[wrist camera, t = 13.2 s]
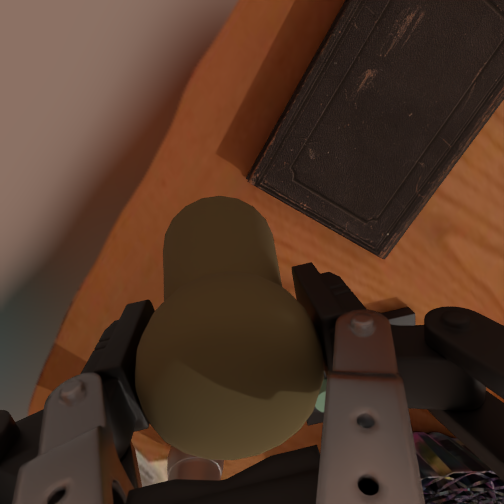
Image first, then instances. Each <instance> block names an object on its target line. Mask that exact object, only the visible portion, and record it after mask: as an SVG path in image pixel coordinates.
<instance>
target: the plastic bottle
mask: <svg viewBox="0 0 504 504" xmlns="http://www.w3.org/2000/svg"><path fill="white" fill-rule="evenodd" d="M223 464H224V460H208V459H204V458H201V457H197V456H193V455H189V454H186V453H183V452H182V451H180V450H178V449H177V448H175V447H173V446H171V449H170V451H169V454H168V464H167V471H168V481H170V480H174V479H188V480H221V475H222V471H223Z"/></svg>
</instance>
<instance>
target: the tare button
mask: <svg viewBox="0 0 504 504" xmlns="http://www.w3.org/2000/svg"><path fill="white" fill-rule="evenodd" d="M326 384H327V379H324V380H323V383H322V386H321V389H320V392H319V395H318V398H317V401H316V404H315V407H316V408H317V409H318V410H319V411H321V412H324V407H325V395H326Z"/></svg>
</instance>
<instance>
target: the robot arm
mask: <svg viewBox="0 0 504 504" xmlns="http://www.w3.org/2000/svg"><path fill="white" fill-rule="evenodd" d="M292 275H293V281H294V287H295V293H296V298H297V301H298V302H299V303H300V304H301V305H302V306H303V307H304V308H305V309H306V311H307V313H308V315H309V316H310V318H311V320H312V322H313V324H314V326H315V329H316V331H317V333H318V335H319V337H320V341H321V344H322V351H323V364H324V371H325V374H326V376H327V384H326V395H325V407H324V418H323V429H322V441H321V452H320V453H319V450H318V447H317V445H314V446H310V447H306V448H302V449H298V450H294V451H290V452H285V453H281V454H277V455H273V456H270V457H268V458H266V459H264V460H262V461H260V462H259V463H257V464H255V465H253V466H251V467H249V468H247V469H245V470H243V471H241V472H239V473H237V474H235V475H234V476H232V477H230V478H228V479H225V480H188V479H174V480H170V481H165V482H161V483H157V484H153V485H149V486H145V487H142V483H141V478H140V473H139V468H138V463H137V457H136V452H135V448H134V446H133V444H132V442H131V439H132V435H133V432H135V431H139V430H143V429H147V428H148V426H149V421H148V420H147V418H146V416H145V415H144V413H143V411H142V408H141V405H140V401H139V398H138V395H137V392H136V388H135V366H136V355H137V348H138V345H139V342H140V339H141V336H142V334H143V332H144V330H145V328H146V327H147V325H148V323H149V321H150V319H151V317H152V315H153V313H154V312H155V311H154V308H153V305H152V303H151V302H150V300H144V301H140V302H136V303H131V304H127V306H126V307H125V309H124V311H123V313H122V315H121V317H120V319H119V320H117V321H114V322H113V323H112V324H111V325H110V326H109V327H108V328H107V329H106V330H105V331H104V332H103V334H102V336H101V338H100V340H99V342H98V343H97V345H96V347H95V351H93V353H92V354H91V356H90V358H89V360H88V362H87V363H86V365H85V367H84V369H83V371H82V373H81V374H80V375H77V376H75V377H72V378H70V379H68V380H67V381H65V382H64V383H62V384H61V385H59V386H58V387H57V388H56V389H55V390H54V391H53V392H52V393H51V394H50V395H49V396H48V398H47V400H46V402H45V405H44V409H43V410H41V411H39V412H37V413H35V414H32V415H30V416H28V417H26V418H24V419H21V420H19V421H17V422H15V421H14V420H13V418H12V417H11V415H10V414H9V412H7V411H5V410H0V504H425V499H424V493H423V488H422V482H421V477H420V471H419V466H418V460H417V455H416V449H415V444H414V438H413V433H412V427H411V422H410V416H409V411H408V408H414V409H428V410H429V412H430V413H431V414H432V415H433V416H434V417H435V418H436V419H437V420H438V421H440V422H441V423H442V424H443V425H444V426H445V427H446V428H447V429H448V430H449V431H450V432H451V433H452V434H453V435H455V436H456V437H457V438H458V439H459V440H460V441H461V442H462V443H463V444H464V445H465V446H466V447H467V448H468V449H470V450H471V451H472V452H473V453H474V454H475V455H476V456H477V457H478V458H479V459H480V460H481V461H482V462H483V463H485V464H486V465H487V466H488V467H489V468H490V469H491V470H492V471H493V472H494V473H495V474H496V475H497V476H498V477H499V478H501V479H502V480H503V481H504V403H503V402H502V401H500V400H499V399H497V398H496V397H495V396H493V395H492V394H490V393H489V392H488V391H486V387H487V388H489V389H490V390H492V391H493V392H494V393H496V394H497V395H499V396H500V397H501V398H503V399H504V326H503V325H501V324H499V323H497V322H495V321H493V320H491V319H489V318H487V317H485V316H483V315H481V314H479V313H477V312H475V311H472V310H469V309H465V308H460V307H440V308H436V309H433V310H431V311H429V312H428V313H427V314H426V315H425V318H424V325H392V324H390V321H389V320H388V318H387V317H385V316H384V315H383V314H381V313H379V312H376V311H372V310H367V309H366V308H365V307H364V306H363V304H362V303H361V302H360V301H359V300H358V298H357V297H356V296H355V295H354V293H353V292H352V291H351V290H350V289H349V287H348V286H347V285H346V284H345V283H344V281H343V280H342V279H341V278H340V277H339V276H337V275H335V274H333V273H331V272H326V273H322V274H320V273H319V272H318V271H317V269H316V268H315V266H314V265H313V263H312V262H311V263H306V264H302V265H298V266H293V267H292Z"/></svg>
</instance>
